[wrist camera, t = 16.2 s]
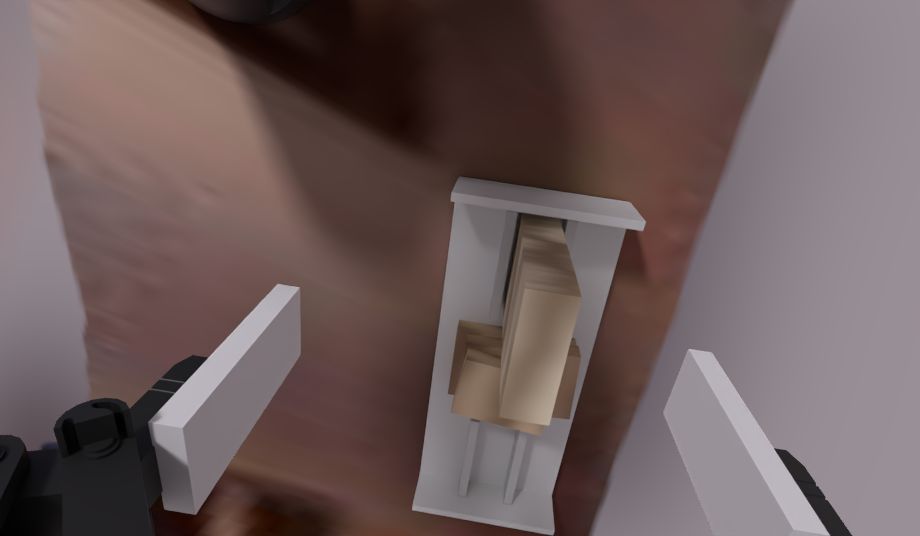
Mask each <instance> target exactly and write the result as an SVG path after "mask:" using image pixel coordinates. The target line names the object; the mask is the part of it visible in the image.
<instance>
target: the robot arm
mask: <svg viewBox="0 0 920 536" xmlns="http://www.w3.org/2000/svg"><path fill="white" fill-rule="evenodd" d="M188 1H190V2H191V3H192V4H194V5H195V6H197V7H198V8H200V9H201V10H203V11H205V12H207V13H209V14H211V15H214V16H216V17H218V18H221V19H224V20H228V21H232V22H238V23H245V24H269V23H274V22H278V21H280V20H283V19H286V18H288V17H290V16H291V15H293V14H295V13H296V12H298V11H299V10H300V9H302V8H303V7H304V6H305V5H306V4H307V3H308V2H309V1H310V0H188ZM300 355H301V333H300V287H293V286H287V285H281V284H277V285H276V286H275V287H274V288H273V290H272V291H271V292H270V293H269V294H268V295H267V296H266V297H265V298H264V299H263V300H262V301H261V302H260V303H259V304H258V306H257V307H256V308H255V309H254V310H253V311H252V312H251V313H250V314H249V315H248V316H247V317H246V318H245V319H244V320H243V322H242V323H241V324H240V325H239V326H238V327H237V328H236V329H235V330H234V331H233V332H232V333H231V334H230V335H229V336H228V338H227V339H226V340H225V341H224V342H223V343H222V344H221V345H220V346H219V347H218V348H217V349H216V350H215V351H214V352H213V354H212V355H211V356H210V357H209V358H207V357H200V356H194V355H192V356H190V357H188V358H187V359H185V360H183V361H181V362H179V363H177V364H175V365H174V366H173V367H172V368H171V369H170V370H169V371H168V372H167V373H166V374H165V375H164V376H163V377H162V379H161V380H159V381H158V382H157V383H156V384H155V385H154V386H153V387H152V388H151V390H148V391H147V392H146V393H145V394H144V395H143V396H142V397H141V398H140V399H139V400H138V401H137V402H136V403H135V404H134V405H133V406H132V407H131V408H130V409H129V407H128V406H127V404H126V403H125V402H123V401H121V400H119V399H112V398H102V399H95V400H90V401H87V402H84V403H82V404H79V405H77V406H75V407H73V408H72V409H70V410H68V411H66V412H65V413H64V414H63V415H62V416H61V417H60V418H59V419H58V420H57V422H56V424H55V427H54V432H55V436H56V439H57V442H58V446H59V449H49V450H37V451H27V450H26V447H25V444H24V443H23V441H22V440H21V439H20V438H18V437H15V436H12V435H0V536H155V532H154V526H153V520H152V514H151V510H150V507H151V506H152V504H153V503H154V502H155V501H156V499H157V498H158V497H159V495H160V494H161V493H162V499H163V504H164V509H165V510H171V511H177V512H183V513H189V514H195V515H196V513H197V512H198V510H199V509H200V507H201V506H202V504H203V503H204V501H205V500H206V498H207V497H208V495H209V493H210V492H211V490H212V489H213V487H214V486H215V484H216V483H217V481H218V480H219V478H220V477H221V475H222V474H223V472H224V471H225V469H226V468H227V466H228V465H229V463H230V461H231V460H232V458H233V457H234V455H235V454H236V452H237V451H238V449H239V448H240V446H241V445H242V443H243V442H244V440H245V439H246V437H247V436H248V434H249V433H250V431H251V429H252V428H253V426H254V425H255V423H256V422H257V420H258V419H259V417H260V416H261V414H262V413H263V411H264V410H265V408H266V407H267V405H268V404H269V402H270V401H271V399H272V397H273V396H274V394H275V393H276V391H277V390H278V388H279V387H280V385H281V384H282V382H283V381H284V379H285V378H286V376H287V375H288V373H289V372H290V370H291V369H292V367H293V365H294V364H295V362H296V361H297V359H298V358H299V356H300ZM663 414H664V416H665V419H666V421H667V424H668V426H669V428H670V431H671V433H672V436H673V438H674V441H675V443H676V445H677V448H678V450H679V453H680V455H681V457H682V460H683V462H684V465H685V467H686V469H687V472H688V474H689V477H690V479H691V482H692V484H693V486H694V489H695V491H696V494H697V496H698V498H699V501H700V503H701V506H702V508H703V511H704V513H705V516H706V518H707V520H708V523H709V525H710V528H711V530H712V532H713V535H714V536H852V535H851V534H850V532H849V530H848V529H847V528H846V527H845V525H844V523H843V522H842V520H841V519H840V517H839V516H838V515H837V513H836V512H835V510H834V509H833V507H832V506H831V505H830V503H829V502H828V501H827V500H825V496H824V494H823V493H822V492H821V490H820V489H819V487H818V486H816V483H815V481H814V480H813V478H812V477H811V476H810V474H809V473H808V472H807V470H806V468H805V467H804V466H803V465H802V464H801V463H800V462H799V461H798V460H797V459H795V458H794V457H793V456H792V455H791V454H790V453H789V452H787V451H786V450H780V449H775V448H773V447H772V445H771V443H770V442H769V440H768V439H767V437H766V436H765V434H764V433H763V431H762V430H761V428H760V426H759V425H758V424H757V422H756V420H755V419H754V417H753V416H752V414H751V413H750V411H749V409H748V408H747V406H746V405H745V403H744V402H743V400H742V399H741V397H740V396H739V394H738V393H737V391H736V389H735V388H734V386H733V385H732V383H731V382H730V380H729V379H728V377H727V375H726V374H725V372H724V371H723V369H722V368H721V366H720V365H719V363H718V362H717V360H716V359H715V357H714V355H713V354H712V353H711V352H705V351H698V350H692V349H688V351H687V354H686V356H685V359H684V361H683V364H682V367H681V369H680V372H679V374H678V377H677V379H676V382H675V384H674V387H673V389H672V392H671V394H670V397H669V399H668V402H667V404H666V407H665V409H664V412H663Z"/></svg>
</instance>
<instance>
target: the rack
mask: <svg viewBox="0 0 920 536" xmlns="http://www.w3.org/2000/svg"><path fill="white" fill-rule="evenodd" d="M451 202H455V204H454V212H453V220H452V228H451V236H450V243H449V251H448V259H447V267H446V275H445V282H444V290H443V298H442V306H441V314H440V321H439V329H438V337H437V345H436V353H435V360H434V368H433V376H432V384H431V392H430V399H429V407H428V415H427V423H426V431H425V438H424V446H423V454H422V462H421V470H420V475H419V479H418V484H417V488H416V493H415V497H414V501H413V507H412V510H415V511H420V512H426V513H431V514H437V515H442V516H448V517H453V518H459V519H464V520H470V521H476V522H481V523H487V524H492V525H498V526H503V527H509V528H514V529H520V530H525V531H531V532H536V533H542V534H547V535H553V534H554V531H555V529H554V517H553V505H552V492H553V489H554V485H555V482H556V478H557V474H558V471H559V467H560V464H561V460H562V457H563V453H564V449H565V446H566V442H567V439H568V435H569V432H570V428H571V424H572V421H573V417H574V414H575V410H576V407H577V403H578V400H579V396H580V392H581V389H582V385H583V382H584V378H585V375H586V371H587V367H588V364H589V360H590V357H591V353H592V350H593V346H594V342H595V339H596V335H597V332H598V328H599V325H600V321H601V317H602V314H603V310H604V307H605V303H606V300H607V296H608V292H609V289H610V285H611V282H612V278H613V275H614V271H615V267H616V264H617V260H618V257H619V253H620V250H621V246H622V242H623V239H624V235H625V232H626V228H627V229H633V230H640V231H643V230H644V226H645V223H646V221H645V220H644V219H643V218H642V216H641V215H640V214H639V213H638V211H637V210H636V209H635V208H634V206H633V205H632V204H631V203H630V202H627V201H620V200H614V199H607V198H600V197H594V196H587V195H580V194H574V193H567V192H561V191H554V190H547V189H541V188H534V187H528V186H521V185H514V184H508V183H501V182H495V181H488V180H481V179H475V178H468V177H462V176H459V177H458V180H457V182H456V184H455V186H454V188H453V190H452V193H451ZM521 212H523V213H529V214H536V215H542V216H549V217H555V218H560V221H561V225H562V228H563V232H564V235H565V239H566V242H567V246H568V250H569V253H570V257H571V260H572V264H573V267H574V271H575V274H576V278H577V281H578V285H579V289H580V292H581V296H582V300H581V304H580V308H579V312H578V315H577V319H576V323H575V327H574V331H573V335H572V338H575V340H576V345H577V346H579V350H580V355H581V361H580V366H579V371H578V377H577V382H576V388H575V393H574V398H573V404H572V409H571V415H570V420H569V419H561V418H552V417H551V420H550V424H549V426H547V425H544V427H543V429H542V432H541V435H540V436H539V435H535V434H531V433H527V432H523V431H519V430H516V429H512V428H508V427H504V426H500V425H496V424H492V423H489V422H485V421H481V420H477V419H473V418H469V417H465V416H462V415H458V414H454V413H451V409H452V403H453V398H454V395H450V394H448V389H449V382H450V375H451V368H452V361H453V354H454V348H455V341H456V334H457V328H458V323H459V320H465V321H471V322H477V323H483V324H489V325H495V326H501V327H503V308H504V300H505V295H506V289H507V284H508V278H509V273H510V268H511V262H512V257H513V252H514V246H515V241H516V235H517V230H518V225H519V219H520V214H521Z"/></svg>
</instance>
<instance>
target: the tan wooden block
mask: <svg viewBox="0 0 920 536" xmlns="http://www.w3.org/2000/svg"><path fill="white" fill-rule="evenodd" d="M581 300H582V296H581V292H580V289H579V285H578V281H577V278H576V274H575V271H574V267H573V264H572V260H571V257H570V253H569V250H568V246H567V242H566V239H565V235H564V232H563V228H562V225H561V221H560V218H555V217H549V216H542V215H536V214H529V213H523V212H521V214H520V219H519V225H518V230H517V235H516V241H515V246H514V252H513V257H512V262H511V268H510V273H509V278H508V284H507V289H506V295H505V300H504V308H503V331H502V354H501V378H500V401H499V417H500V418H506V419H512V420H518V421H524V422H530V423H535V424H541V425H547V426H549V424H550V420H551V417H552V413H553V409H554V405H555V401H556V397H557V393H558V389H559V385H560V382H561V378H562V374H563V370H564V366H565V362H566V358H567V354H568V350H569V347H570V343H571V339H572V335H573V331H574V327H575V323H576V319H577V315H578V312H579V308H580V304H581Z"/></svg>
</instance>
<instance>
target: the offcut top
mask: <svg viewBox="0 0 920 536" xmlns="http://www.w3.org/2000/svg"><path fill="white" fill-rule="evenodd" d="M500 378H501V356H497V355H493V354H490V353H486V352H482V351H478V350H474V349H470V348H468V350H467V353H466V357H465V360H464V364H463V367H462V371H461V374H460V378H459V381H458V385H457V388H456V391H455V395H454V398H453V403H452V409H451V413H454V414H458V415H462V416H465V417H469V418H473V419H477V420H481V421H485V422H489V423H492V424H496V425H500V426H504V427H508V428H512V429H516V430H519V431H523V432H527V433H531V434H535V435H539V436H540V435H541V432H542V429H543V427H544V425H541V424H535V423H530V422H524V421H518V420H512V419H506V418H500V417H499V401H500ZM559 386H560V385H559Z"/></svg>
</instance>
